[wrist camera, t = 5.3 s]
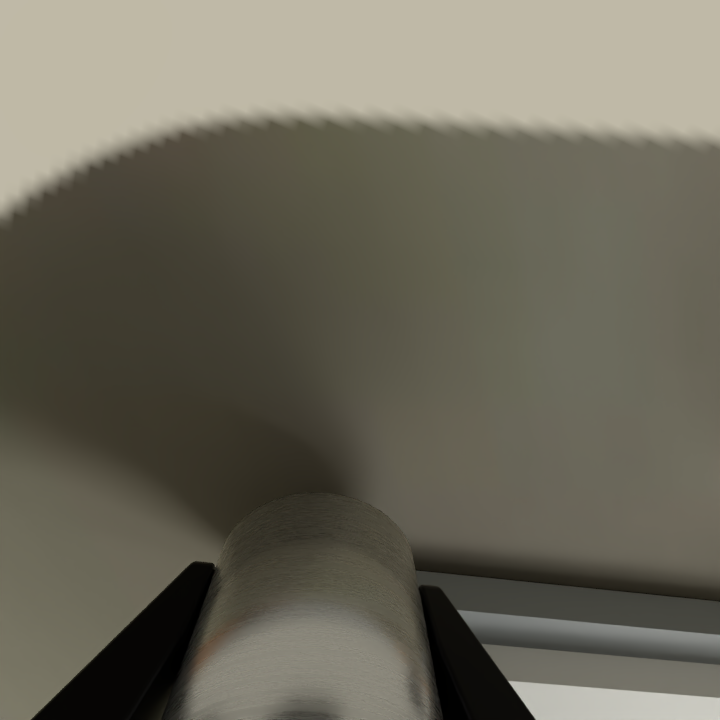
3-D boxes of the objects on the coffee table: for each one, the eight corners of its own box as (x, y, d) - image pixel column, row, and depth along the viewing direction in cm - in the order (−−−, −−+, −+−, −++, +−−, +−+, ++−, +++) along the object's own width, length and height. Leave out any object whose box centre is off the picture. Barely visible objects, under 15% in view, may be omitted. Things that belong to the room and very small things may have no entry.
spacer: (433, 505, 8) (504, 758, 4) (393, 648, 10) (423, 932, 6) (225, 480, 8) (115, 730, 4) (214, 631, 9) (124, 924, 6)
